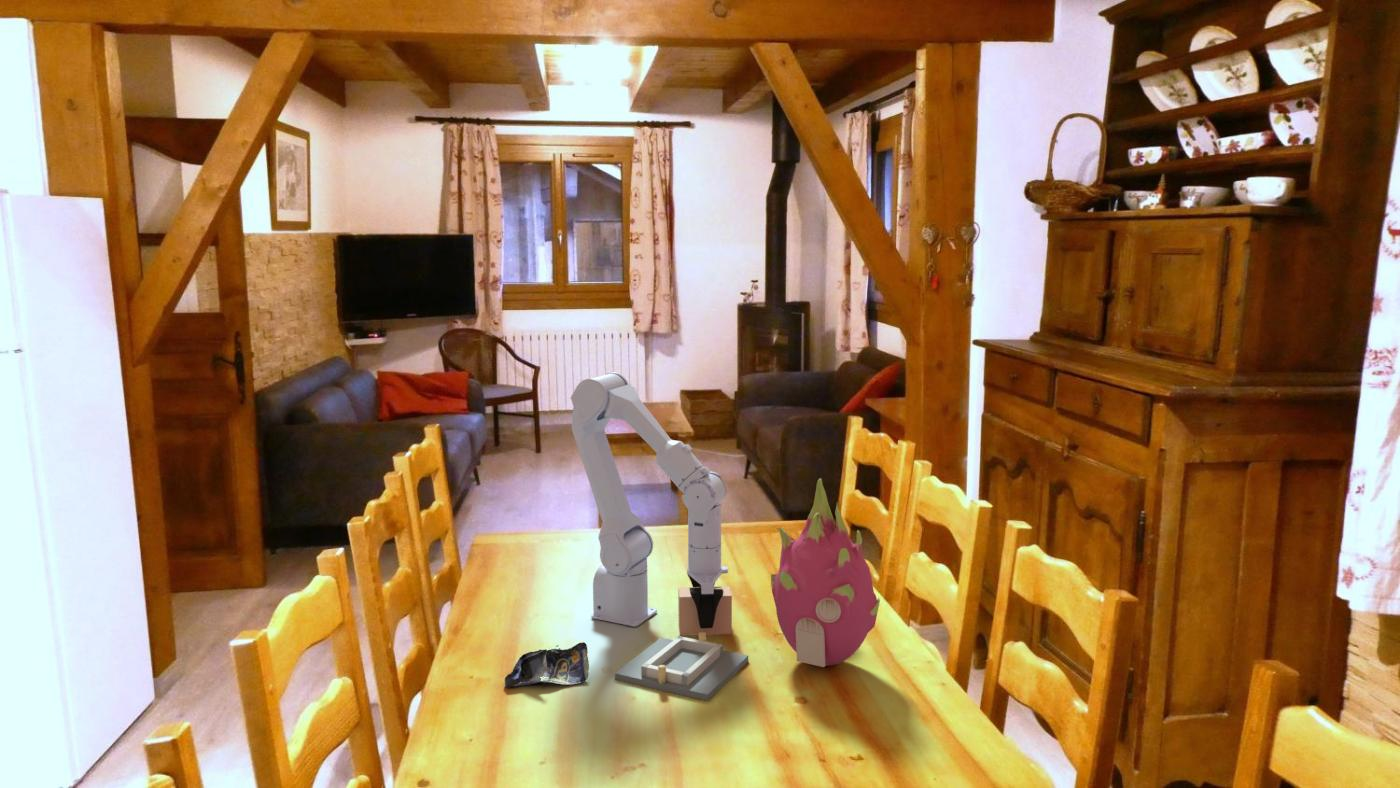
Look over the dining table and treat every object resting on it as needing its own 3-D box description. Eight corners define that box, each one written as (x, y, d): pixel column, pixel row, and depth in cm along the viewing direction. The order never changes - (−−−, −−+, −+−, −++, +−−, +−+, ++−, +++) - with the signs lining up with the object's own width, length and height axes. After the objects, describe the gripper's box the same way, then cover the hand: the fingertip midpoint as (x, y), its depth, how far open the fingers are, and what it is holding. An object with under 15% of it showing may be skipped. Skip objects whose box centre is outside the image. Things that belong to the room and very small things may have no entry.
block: (679, 635, 166) (679, 597, 165) (678, 625, 170) (678, 587, 169) (731, 634, 166) (731, 595, 165) (729, 623, 171) (729, 586, 170)
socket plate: (615, 679, 149) (614, 658, 149) (661, 643, 163) (661, 623, 162) (707, 701, 142) (707, 678, 142) (748, 661, 156) (748, 640, 155)
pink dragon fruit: (756, 672, 152) (757, 487, 147) (781, 638, 164) (783, 467, 159) (868, 691, 145) (873, 498, 140) (885, 655, 158) (891, 477, 153)
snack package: (546, 707, 141) (602, 675, 150) (539, 664, 141) (595, 635, 150) (492, 697, 149) (548, 667, 158) (484, 656, 148) (541, 628, 158)
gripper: (731, 557, 159) (731, 634, 161) (724, 530, 173) (724, 602, 175) (689, 558, 158) (689, 636, 161) (685, 531, 173) (685, 603, 175)
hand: (704, 618), depth 168 cm, fingers open, 7 cm apart
